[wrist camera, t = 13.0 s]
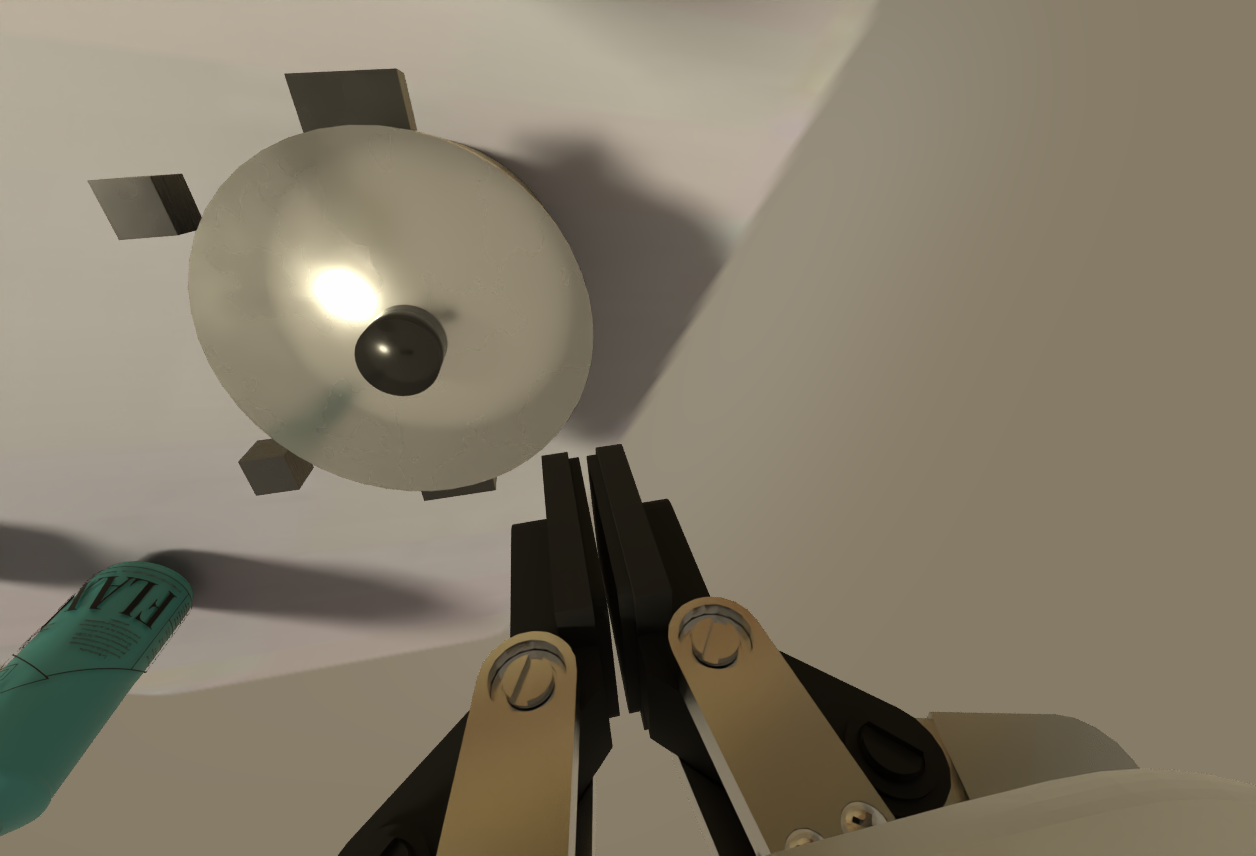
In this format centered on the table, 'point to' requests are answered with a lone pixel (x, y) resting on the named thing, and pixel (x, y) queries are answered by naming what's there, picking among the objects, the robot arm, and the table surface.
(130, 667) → the beverage bottle
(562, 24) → the table surface
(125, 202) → the cooker pot
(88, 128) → the table surface
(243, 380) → the cooker lid
